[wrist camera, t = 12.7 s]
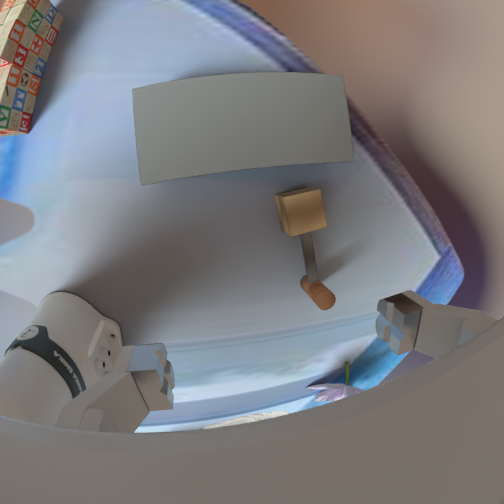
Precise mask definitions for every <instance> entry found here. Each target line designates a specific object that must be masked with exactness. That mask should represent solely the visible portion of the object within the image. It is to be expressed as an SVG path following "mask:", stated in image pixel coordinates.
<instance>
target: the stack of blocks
mask: <svg viewBox="0 0 504 504" xmlns="http://www.w3.org/2000/svg"><path fill="white" fill-rule="evenodd" d="M63 21H64V17H63V16H62V14H61V13H60V12H59V11H58V10H57V9H56V8H55V7H54V6H53V5H52V3H51V2H50V1H49V0H5V2H4V4H3V6H2V7H1V9H0V136H3V137H6V136H13V135H23V134H28V133H29V128H30V122H31V117H32V114H33V110H34V106H35V102H36V96H37V94H38V90H39V86H40V83H41V78H42V75H43V72H44V69H45V66H46V62H47V60H48V57H49V54H50V51H51V48H52V46H53V44H54V41H55V39H56V36H57V34H58V32H59V30H60V27H61V25H62V23H63Z"/></svg>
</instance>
